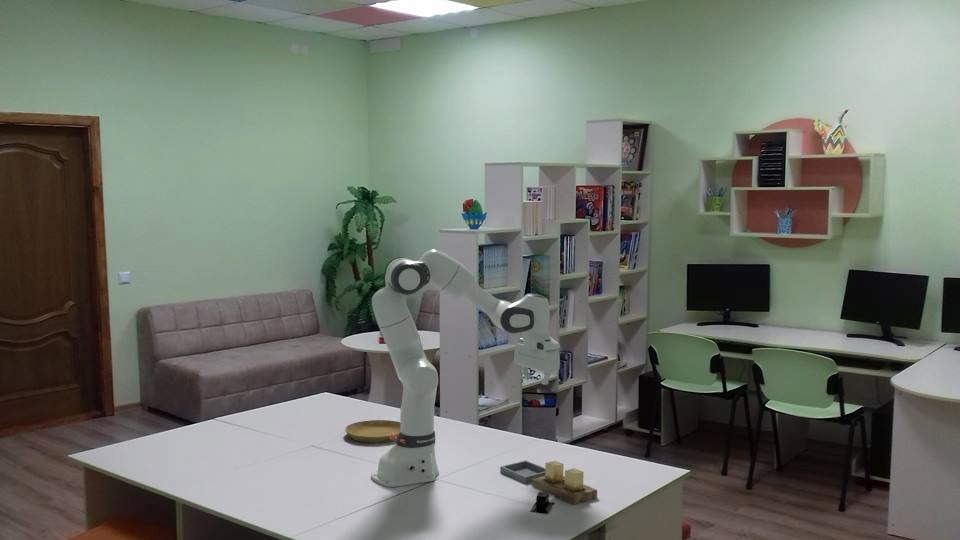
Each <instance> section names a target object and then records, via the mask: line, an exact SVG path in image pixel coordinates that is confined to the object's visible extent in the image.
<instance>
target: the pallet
mask: <svg viewBox="0 0 960 540" xmlns="http://www.w3.org/2000/svg"><path fill="white" fill-rule="evenodd" d="M531 487H534V488H536V489H539V490H541V491H542V492H546V493H549V494H550V495H551V496H553V497H554V498H557V499H559V500H561V501H564V502H565V503H568V504H569V505H573V506H574V505H578V504H581V503H584V502H587V501H591V500H594V498H595V499H597V498H598V489H597V488H594V487H591V486H589V485H586V484H584V483H583V491H579V492H576V493H572V492H570V491H567V490H565V475H563V482H562V483H558V484H554V485H553V484H551V483H548V482H546V481H545V476H542V477H538V478H535V479H532V482H531Z"/></svg>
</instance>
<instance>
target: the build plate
mask: <svg viewBox="0 0 960 540" xmlns="http://www.w3.org/2000/svg"><path fill="white" fill-rule="evenodd" d="M549 494H550V493H548V492H546V491H538V493H537V495H536V499H535V502H534V504H533V506H532V507H531V509H530V511H529V512H530V513H534V514H542V515H543V514H544V515H548V514H549V513H550V512H551V510H552V509H553V507H554V505H555V504H556V502H553V501H552V502H551V501H549V500H550V496H549Z"/></svg>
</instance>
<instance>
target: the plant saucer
mask: <svg viewBox="0 0 960 540" xmlns="http://www.w3.org/2000/svg"><path fill="white" fill-rule="evenodd" d="M344 430H345V432H346V435H348V437H350V438H351V439H353V440H355V441H357V442H362V443H368V444H369V443H370V444H371V443H372V444H377V443H381V444H382V443H389V442H394V440H391V439H390V435H391V434H392V433H393V434H395V435H397V436H398V434H399V432H400V421H396V420H390V419H389V420H387V419H385V420H384V419H373V420H372V419H370V420H362V421H356V422H353V423H350V424H348V425H347V426H345V428H344Z"/></svg>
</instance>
